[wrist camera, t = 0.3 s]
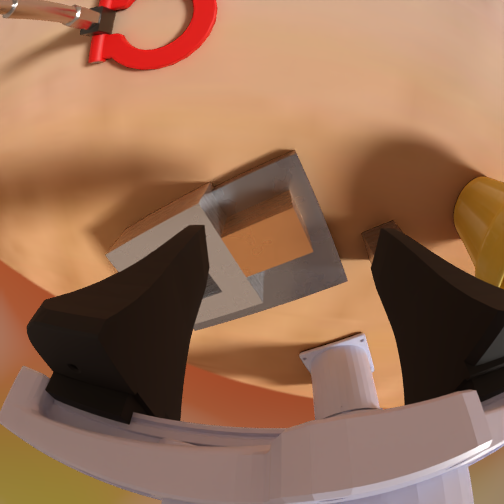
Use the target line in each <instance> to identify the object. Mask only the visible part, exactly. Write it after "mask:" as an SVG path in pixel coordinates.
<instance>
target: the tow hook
mask: <svg viewBox="0 0 504 504" xmlns="http://www.w3.org/2000/svg"><path fill="white" fill-rule="evenodd" d="M134 1H135V0H100V1H99V5H98V7H94V8H90V9H88V8H85V7H81V6H78V5H73V6H68V5H64V4H59V3H55V2H50V1H44V0H0V14H3V18H14V19H33V20H44V21H52V22H60V23H62V24H64V25H66V26H68V27H73V28H80V29H81V31H80V35H85V36H91V37H92V40H91V46H90V53H89V61H88V63H101V62H104V61H106V59H109V58H113V59H114V60H115V61H116V62H118V63H120V64H122V65H124V66H126V67H129V68H135V69H140V70H148V69H160V68H163V67H166V66H170V65H173V64H175V63H177V62H179V61H181V60H183V59H185V58H187V57H188V56H189V55H190V54H192V53H193V52H194V51H195V50H197V49H198V48H199V47H200V46H201V45H202V43H203V42H204V41H205V40H206V38H207V37H208V36H209V35H210V32H211V30H212V28H213V26H214V24H215V21H216V15H217V3H216V0H192V1H193V7H194V11H193V17H192V20H191V22H190V24H189V26H188V28H187V29H186V30H185V31H184V33H183V34H182V35H181V36H180V37H178V38H177V39H176V40H175V41H173V42H171V43H170V44H168V45H166V46H164V47H160V48H157V49H152V50H141V49H137V48H135V47H133V46H132V45H131V44H130V43H129V42H127V40H126V38H125V36H124V35H122V34H118V33H117V34H111V33H112V28H113V23H114V18H115V14H116V11H115V10H120V9H127V8H128V7H130V6H131V5H132V3H133V2H134Z"/></svg>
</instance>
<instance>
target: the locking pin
mask: <svg viewBox="0 0 504 504" xmlns="http://www.w3.org/2000/svg"><path fill="white" fill-rule="evenodd" d="M381 228H394V229H396V230H398V231H400V232H402V231H401V230H400V228H399V227H398V226H397V225H396V223H395V222H394V221H393V220H392V221H390V222H388V223H385V224H383V225H380V226H378V227H375V228H373V229H370V230H368V231H365V232H363V233H362V236H363V239H364V243H365V246H366V250H367V253H368V257H369V260H370V262H371V264H372V262H373V258H374V254H375V250H376V246H377V242H378V238H379V233H380V229H381ZM402 233H403V232H402Z"/></svg>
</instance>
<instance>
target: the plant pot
mask: <svg viewBox="0 0 504 504" xmlns="http://www.w3.org/2000/svg"><path fill="white" fill-rule="evenodd" d="M454 224H455V228H456V230H457V232H458V234H459V236H460V238H461V239H462V241H463V243H464V245H465V247H466V249H467V251H468V253H469V255H470V257H471V259H472V262H473V264H474V266H475V277H476V278H478V279H480V280H483V281H485V282H487V283H489V284H492V285H494V286H496V287H499V288H502V289H504V182H501V181H498V180H495V179H492V178H488V177H477V178H475V179H473V180H472V181H470V182H469V183H468V184H467V185H466V186H465V187H464V188H463V190H462V191H461V193H460V195H459V197H458V199H457V202H456V205H455V209H454Z"/></svg>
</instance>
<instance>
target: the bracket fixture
mask: <svg viewBox="0 0 504 504" xmlns="http://www.w3.org/2000/svg"><path fill="white" fill-rule="evenodd" d="M189 225H205V233H206V242H207V250H208V258H209V266H210V268H209V274H208V280H207V285H206V289H205V292H204V296H203V299H202V302H201V305H200V308H199V311H198V315H197V318H196V321H195V324H194V327H193V329H194V330H195V331H196V330H200V329H203V328H207V327H210V326H214V325H217V324H221V323H224V322H228V321H231V320H234V319H237V318H241V317H244V316H247V315H250V314H254V313H257V312H260V311H263V310H266V309H269V308H272V307H275V306H278V305H282V304H285V303H287V302H290V301H293V300H296V299H299V298H302V297H305V296H308V295H311V294H314V293H316V292H319V291H322V290H325V289H327V288H330V287H333V286H336V285H338V284H341V283H344V282H346V281H348V280H347V277H346V274H345V272H344V269H343V266H342V263H341V260H340V258H339V255H338V252H337V249H336V247H335V244H334V241H333V239H332V236H331V234H330V231H329V229H328V226H327V223H326V221H325V218H324V216H323V213H322V211H321V209H320V206H319V204H318V201H317V199H316V197H315V194H314V192H313V190H312V187H311V185H310V183H309V180H308V178H307V176H306V174H305V171H304V169H303V167H302V165H301V163H300V160H299V158H298V156H297V154H296V152H295V150H294V151H291V152H289V153H287V154H284V155H282V156H280V157H277V158H275V159H273V160H271V161H268V162H266V163H264V164H262V165H260V166H257V167H255V168H253V169H251V170H249V171H247V172H244V173H242V174H240V175H238V176H236V177H234V178H232V179H230V180H228V181H226V182H224V183H222V184H220V185H218V186H216V187H213V185H212V183H211V182H209V183H207V184H205V185H203V186H201V187H200V188H198V189H196V190H194V191H192V192H190V193H188V194H186V195H184V196H183V197H181V198H179V199H177V200H175V201H174V202H172V203H170V204H168V205H166V206H165V207H163V208H161V209H159V210H158V211H156V212H154V213H152V214H151V215H149V216H147V217H145V218H144V219H142V220H140V221H139V222H137V223H135V224H134V225H132V226H130V227H129V228H127V229H126V230H125V231H124V232H123V233H122V234H121V236H120V237H119V238H118V239H117V241H116V242H115V243H114V244H113V246H112V247H111V248H110V249H109V251H108V252H107V253H106V255H105V256H106V257H107V258H108V259H109V261H110V262H111V263H112V264H113V266H114V267H115V268H116V269H117V271H118V272H120V271H122V270H124V269H126V268H128V267H129V266H131V265H133V264H135V263H136V262H138V261H139V260H141V259H143V258H144V257H145V256H147V255H148V254H150V253H151V252H153V251H154V250H156V249H157V248H158V247H160V246H161V245H163V244H164V243H165V242H167V241H168V240H169V239H171V238H172V237H173V236H175V235H176V234H177V233H179V232H180V231H181V230H183V229H184V228H186V227H187V226H189Z"/></svg>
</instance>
